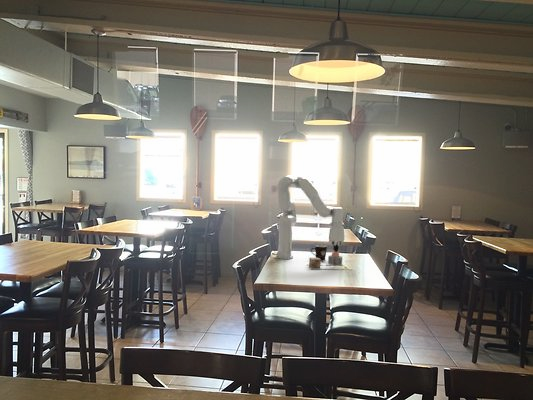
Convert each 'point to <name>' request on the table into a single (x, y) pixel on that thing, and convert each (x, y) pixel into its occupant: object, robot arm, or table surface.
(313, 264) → the die
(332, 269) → the lane
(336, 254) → the dome
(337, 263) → the dome ring
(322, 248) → the coffee mug
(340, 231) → the robot arm
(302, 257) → the table surface
